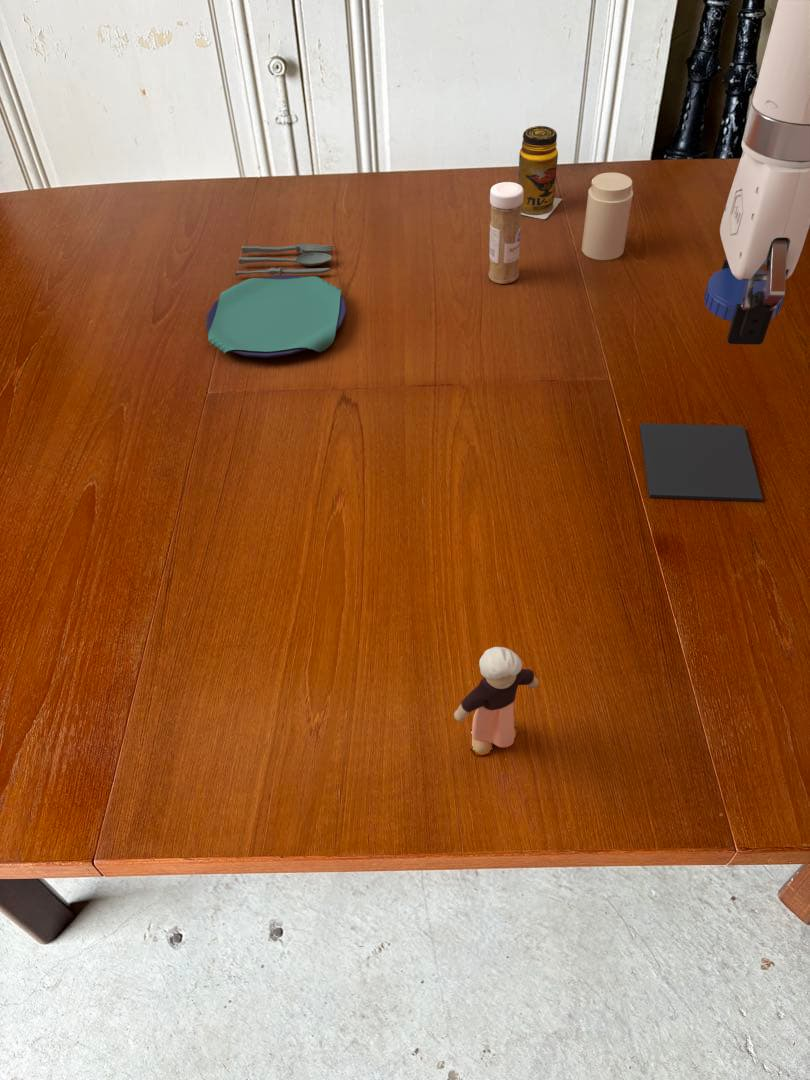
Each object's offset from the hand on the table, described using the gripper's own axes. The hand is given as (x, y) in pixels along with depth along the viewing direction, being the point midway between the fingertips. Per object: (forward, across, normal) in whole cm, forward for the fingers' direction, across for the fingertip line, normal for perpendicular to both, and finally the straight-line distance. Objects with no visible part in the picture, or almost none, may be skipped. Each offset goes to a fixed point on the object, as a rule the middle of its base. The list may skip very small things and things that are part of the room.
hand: (737, 318), depth 79 cm
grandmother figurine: (+19, +36, -22) cm, 46 cm away
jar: (+19, -47, -8) cm, 51 cm away
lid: (-3, 0, 0) cm, 3 cm away
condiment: (+19, -61, -19) cm, 66 cm away
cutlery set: (+19, -31, -55) cm, 66 cm away
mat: (+19, 0, 0) cm, 19 cm away
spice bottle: (+19, -39, -23) cm, 49 cm away
